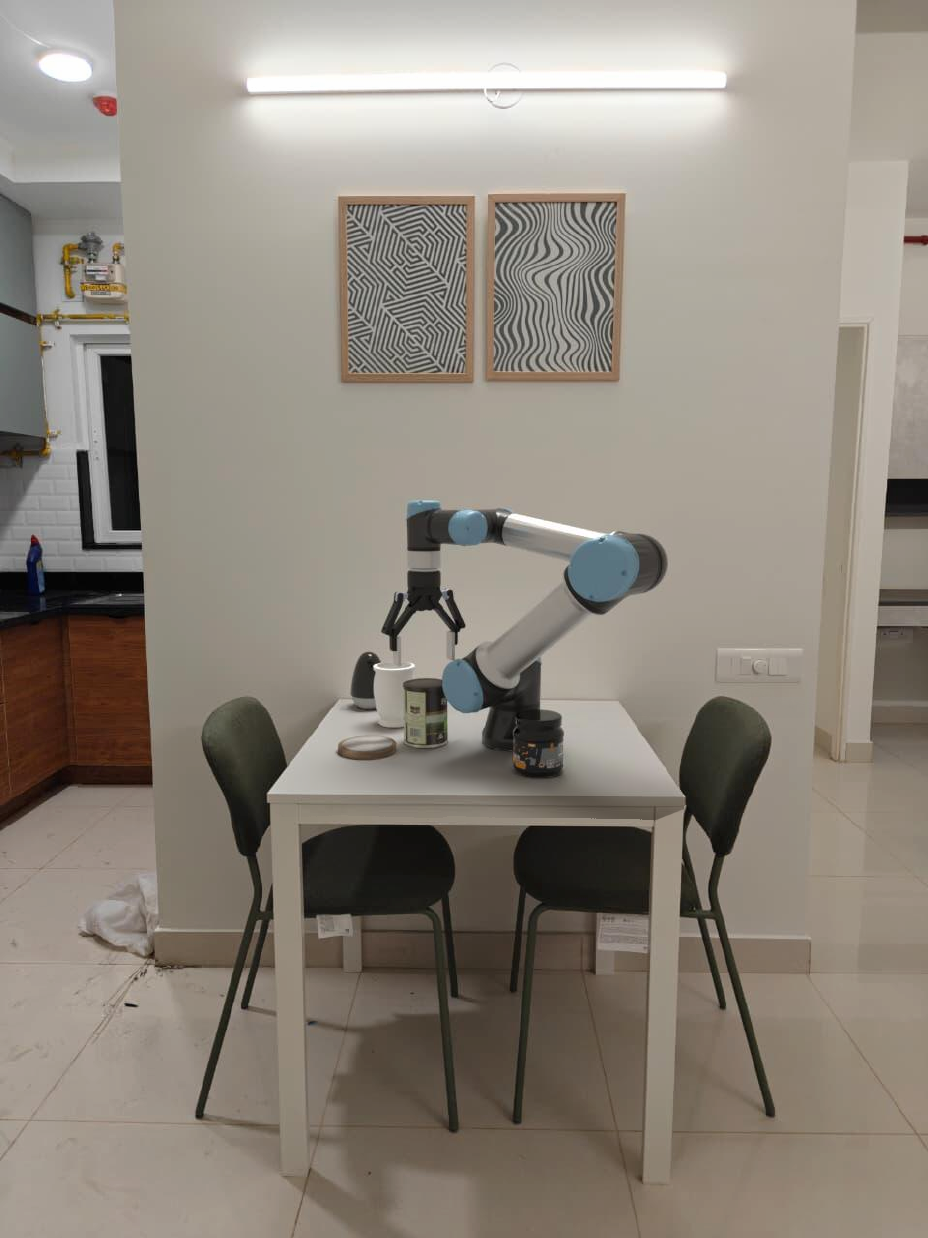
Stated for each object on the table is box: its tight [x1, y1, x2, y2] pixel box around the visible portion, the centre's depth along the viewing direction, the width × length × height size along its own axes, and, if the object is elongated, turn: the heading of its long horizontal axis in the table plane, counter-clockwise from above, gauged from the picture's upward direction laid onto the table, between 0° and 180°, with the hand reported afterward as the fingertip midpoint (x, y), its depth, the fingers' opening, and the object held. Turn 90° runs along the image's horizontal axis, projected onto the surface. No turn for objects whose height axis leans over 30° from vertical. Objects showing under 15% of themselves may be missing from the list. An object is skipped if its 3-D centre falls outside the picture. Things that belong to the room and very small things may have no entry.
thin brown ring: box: [337, 735, 398, 761], centre depth 183 cm, size 13×13×2 cm
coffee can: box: [403, 677, 449, 749], centre depth 188 cm, size 10×10×14 cm
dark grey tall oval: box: [349, 651, 382, 710], centre depth 220 cm, size 10×10×15 cm
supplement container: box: [512, 708, 565, 779], centre depth 169 cm, size 10×10×12 cm
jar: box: [374, 661, 416, 729], centre depth 203 cm, size 11×10×15 cm
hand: (424, 662), depth 187 cm, fingers open, 13 cm apart
